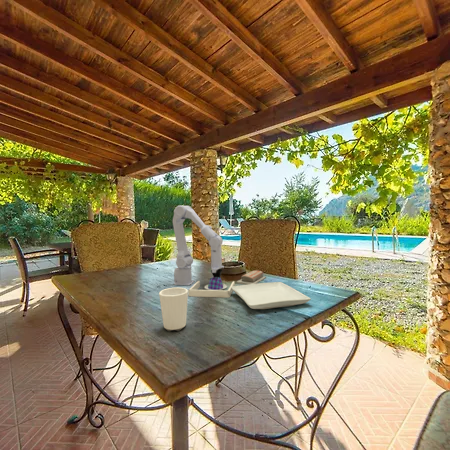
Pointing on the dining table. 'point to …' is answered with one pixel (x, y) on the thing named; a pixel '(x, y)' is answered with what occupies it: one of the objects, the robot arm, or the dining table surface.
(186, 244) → the robot arm
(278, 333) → the dining table surface
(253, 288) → the square plate
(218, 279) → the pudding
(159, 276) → the dining table surface
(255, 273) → the packaged product
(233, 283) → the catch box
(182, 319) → the cup
